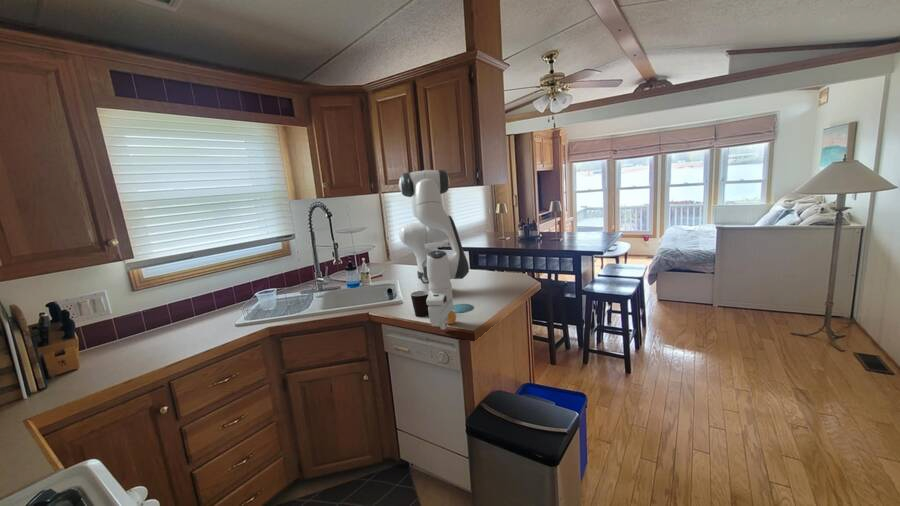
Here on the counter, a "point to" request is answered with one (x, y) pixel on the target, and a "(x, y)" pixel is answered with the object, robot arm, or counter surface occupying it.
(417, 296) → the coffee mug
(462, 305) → the disc
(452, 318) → the ball
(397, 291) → the counter surface
